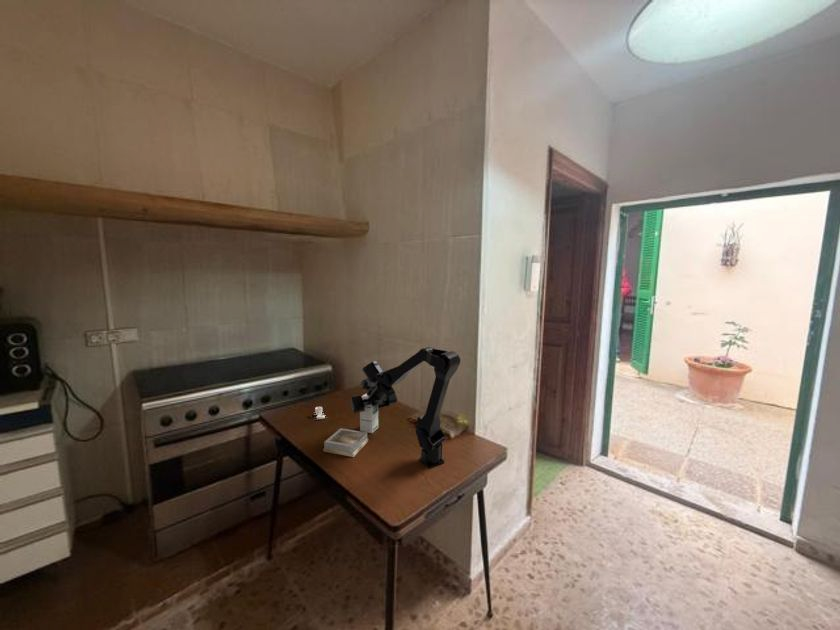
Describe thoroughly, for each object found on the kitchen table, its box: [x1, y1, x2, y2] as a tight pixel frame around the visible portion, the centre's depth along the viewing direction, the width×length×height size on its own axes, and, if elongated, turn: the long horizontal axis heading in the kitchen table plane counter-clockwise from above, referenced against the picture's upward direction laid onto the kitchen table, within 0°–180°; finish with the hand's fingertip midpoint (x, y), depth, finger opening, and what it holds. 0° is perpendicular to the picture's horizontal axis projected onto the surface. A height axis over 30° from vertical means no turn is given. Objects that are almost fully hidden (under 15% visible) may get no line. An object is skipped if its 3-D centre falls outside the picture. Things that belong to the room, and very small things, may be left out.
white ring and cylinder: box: [314, 406, 326, 420], centre depth 148 cm, size 9×8×4 cm
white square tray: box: [322, 427, 369, 458], centre depth 122 cm, size 12×12×4 cm
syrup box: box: [359, 393, 380, 434], centre depth 135 cm, size 6×6×14 cm
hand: (367, 409), depth 137 cm, fingers closed on syrup box, 8 cm apart
